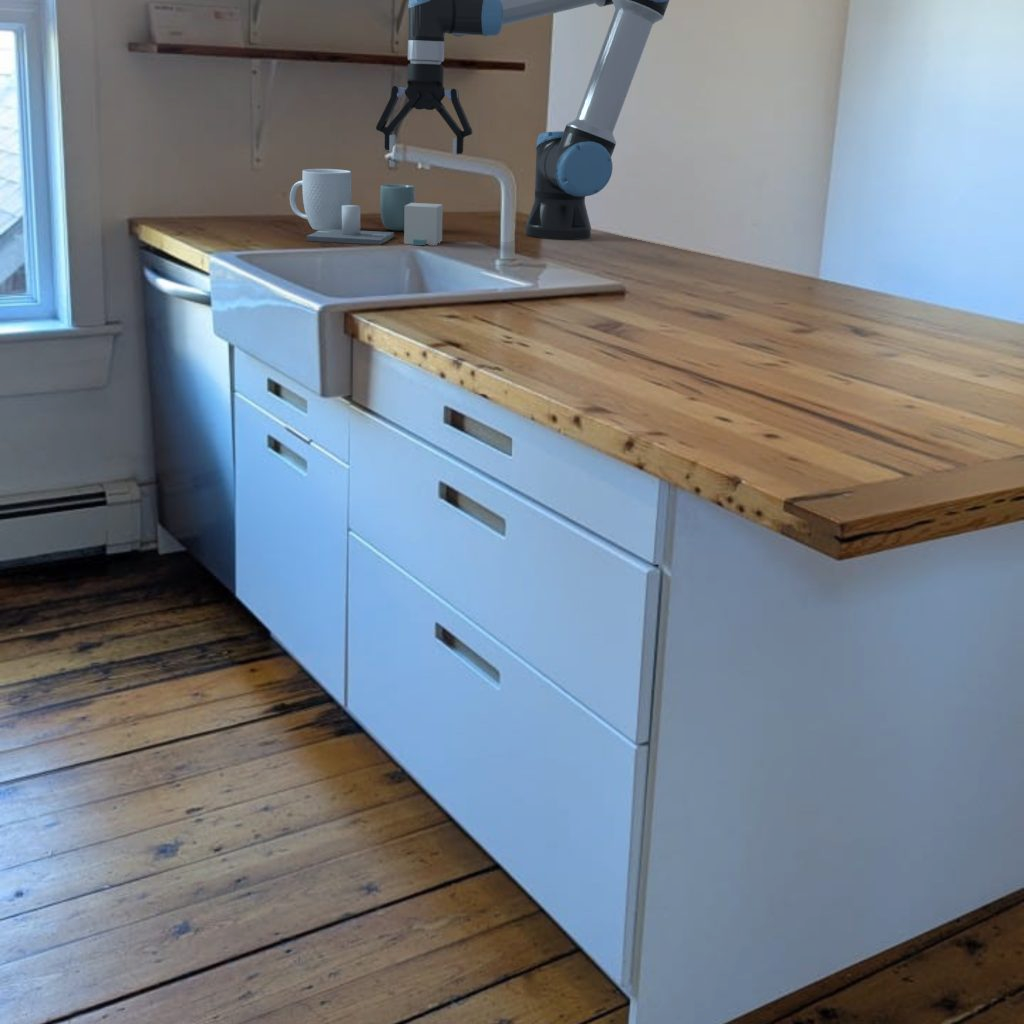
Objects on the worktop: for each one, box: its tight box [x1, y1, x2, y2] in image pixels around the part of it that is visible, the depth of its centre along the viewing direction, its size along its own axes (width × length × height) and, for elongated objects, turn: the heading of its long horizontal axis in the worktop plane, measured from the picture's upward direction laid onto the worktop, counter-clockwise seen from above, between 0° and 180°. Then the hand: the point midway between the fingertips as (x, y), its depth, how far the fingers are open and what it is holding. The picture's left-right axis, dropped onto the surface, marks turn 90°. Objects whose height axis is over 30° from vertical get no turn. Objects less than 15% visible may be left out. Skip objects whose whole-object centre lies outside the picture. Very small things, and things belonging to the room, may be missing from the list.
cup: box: [379, 183, 416, 232], centre depth 304 cm, size 8×8×10 cm
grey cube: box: [403, 202, 444, 246], centre depth 284 cm, size 7×10×8 cm
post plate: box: [306, 204, 395, 245], centre depth 286 cm, size 16×14×7 cm
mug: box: [289, 168, 352, 231], centre depth 300 cm, size 15×11×13 cm
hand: (423, 168), depth 280 cm, fingers open, 13 cm apart
